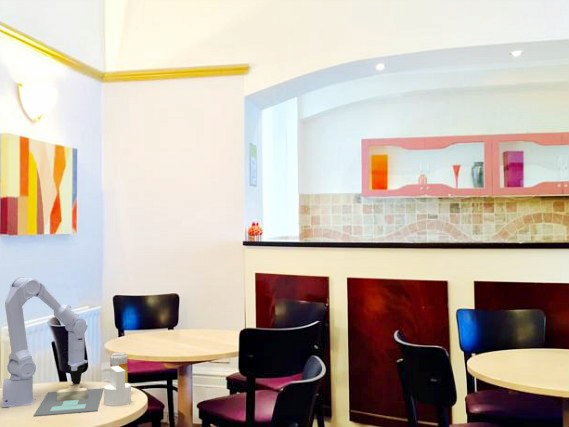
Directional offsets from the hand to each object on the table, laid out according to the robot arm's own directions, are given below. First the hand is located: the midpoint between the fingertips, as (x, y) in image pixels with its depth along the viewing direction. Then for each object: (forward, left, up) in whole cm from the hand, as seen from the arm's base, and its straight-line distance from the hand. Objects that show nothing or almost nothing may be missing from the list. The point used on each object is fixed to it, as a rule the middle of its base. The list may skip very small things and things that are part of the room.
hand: (76, 385), depth 217 cm
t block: (0, -9, -2) cm, 9 cm away
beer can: (+16, -10, -2) cm, 19 cm away
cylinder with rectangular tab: (+16, -21, -2) cm, 26 cm away
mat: (0, -15, -2) cm, 15 cm away
